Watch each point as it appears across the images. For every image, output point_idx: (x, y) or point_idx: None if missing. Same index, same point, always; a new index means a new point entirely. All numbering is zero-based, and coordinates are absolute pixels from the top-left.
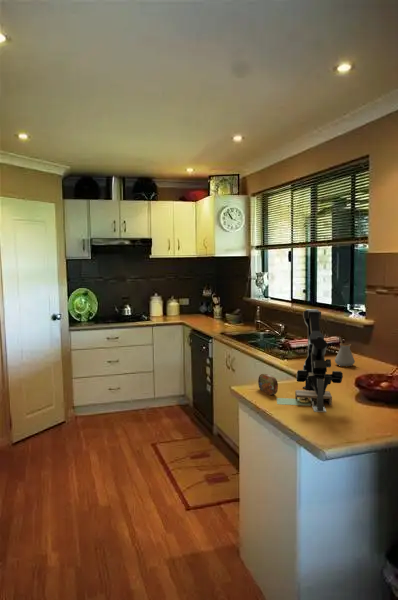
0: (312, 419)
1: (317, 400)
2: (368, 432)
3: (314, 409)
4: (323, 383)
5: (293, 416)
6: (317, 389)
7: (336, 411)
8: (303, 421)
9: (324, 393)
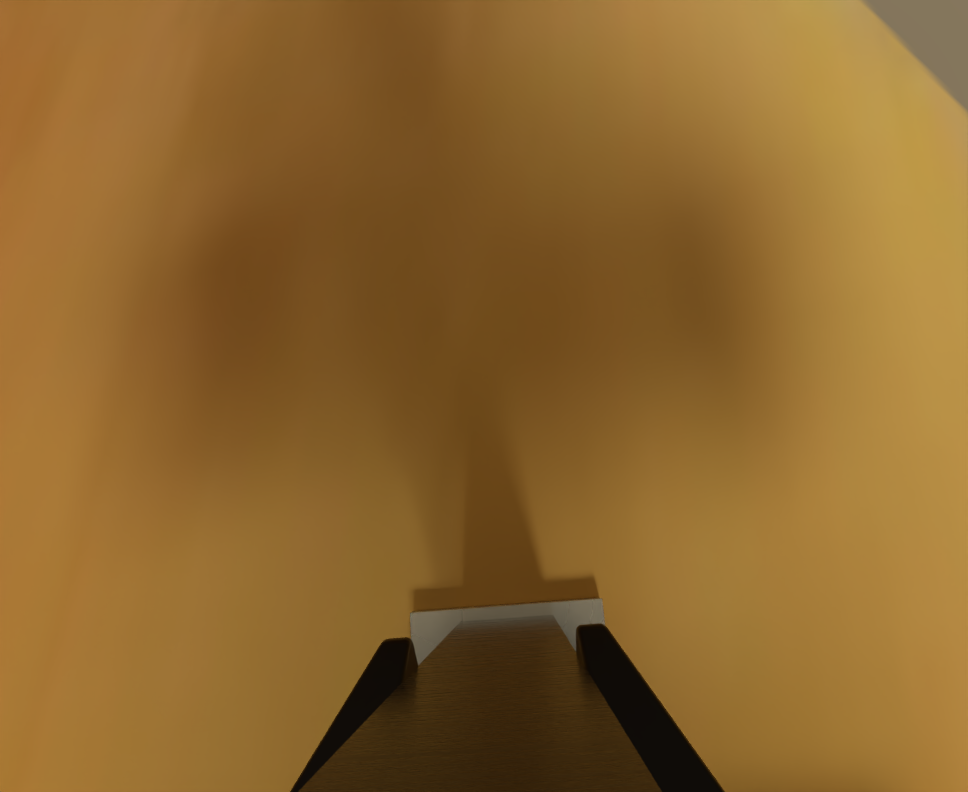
0: (615, 274)
1: (564, 634)
2: (51, 41)
3: None
4: (333, 769)
5: (877, 331)
6: None
7: (252, 698)
8: (722, 183)
9: (386, 642)
